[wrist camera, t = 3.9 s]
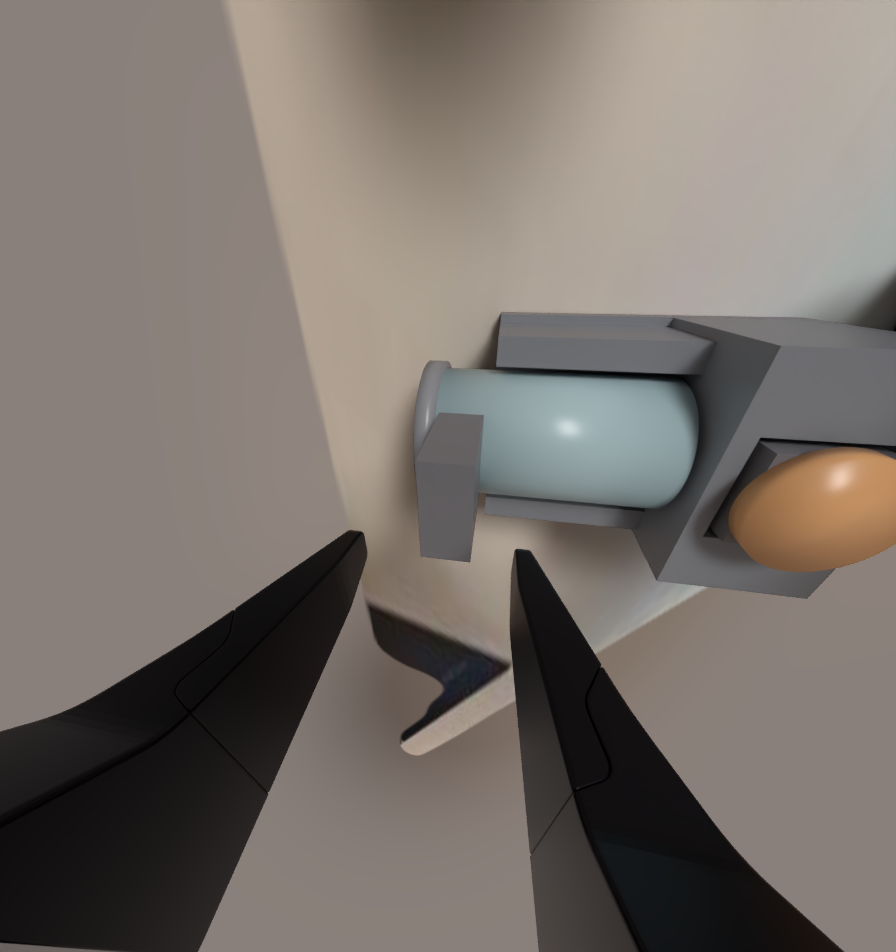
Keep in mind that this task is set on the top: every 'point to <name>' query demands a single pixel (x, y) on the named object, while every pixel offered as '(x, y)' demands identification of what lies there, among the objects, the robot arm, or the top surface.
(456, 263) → the top surface
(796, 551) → the plunger
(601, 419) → the cartridge
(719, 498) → the housing
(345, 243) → the top surface
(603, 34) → the top surface
